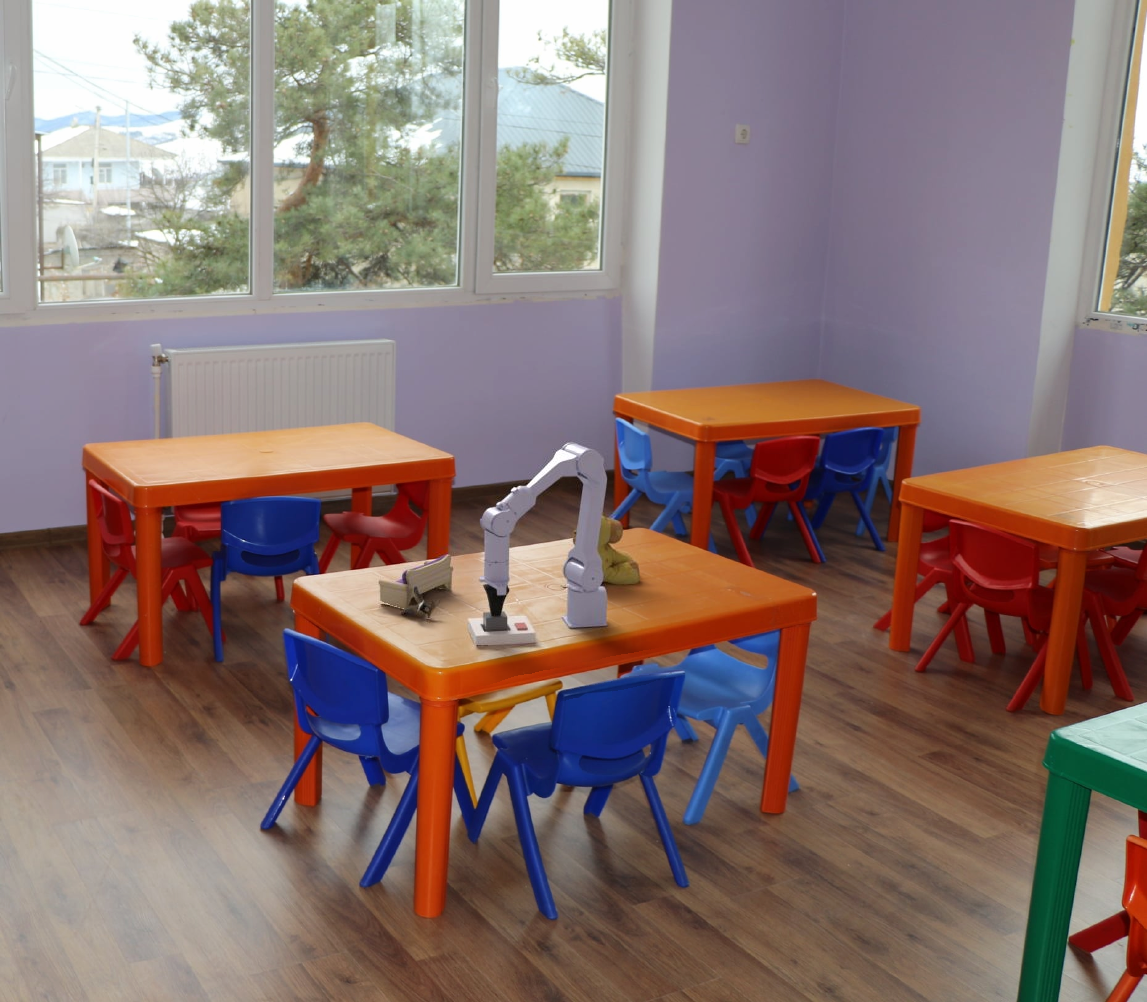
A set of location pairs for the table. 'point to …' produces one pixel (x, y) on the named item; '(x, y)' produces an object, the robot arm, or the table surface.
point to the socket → (503, 632)
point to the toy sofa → (417, 582)
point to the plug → (494, 622)
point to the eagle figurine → (420, 605)
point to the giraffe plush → (614, 555)
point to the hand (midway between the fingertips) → (495, 615)
